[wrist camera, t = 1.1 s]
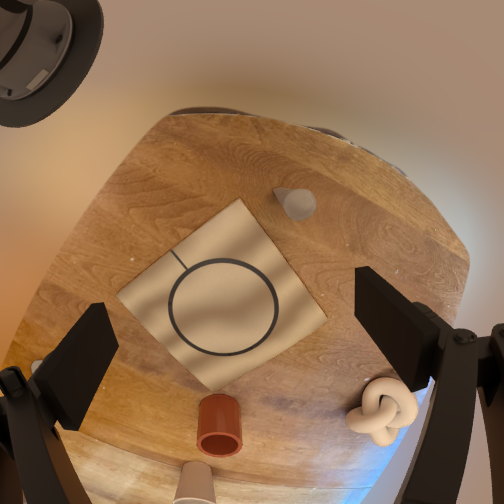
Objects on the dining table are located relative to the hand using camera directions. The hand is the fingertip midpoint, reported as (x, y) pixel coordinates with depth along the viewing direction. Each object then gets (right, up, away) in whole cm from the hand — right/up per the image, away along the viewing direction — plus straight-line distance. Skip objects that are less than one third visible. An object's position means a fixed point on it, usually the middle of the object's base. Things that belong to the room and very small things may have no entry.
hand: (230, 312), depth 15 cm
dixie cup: (-10, -40, +35) cm, 54 cm away
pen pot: (-4, -22, +29) cm, 37 cm away
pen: (+4, +10, +20) cm, 23 cm away
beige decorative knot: (+21, -22, +32) cm, 44 cm away
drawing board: (-3, -4, +24) cm, 25 cm away
